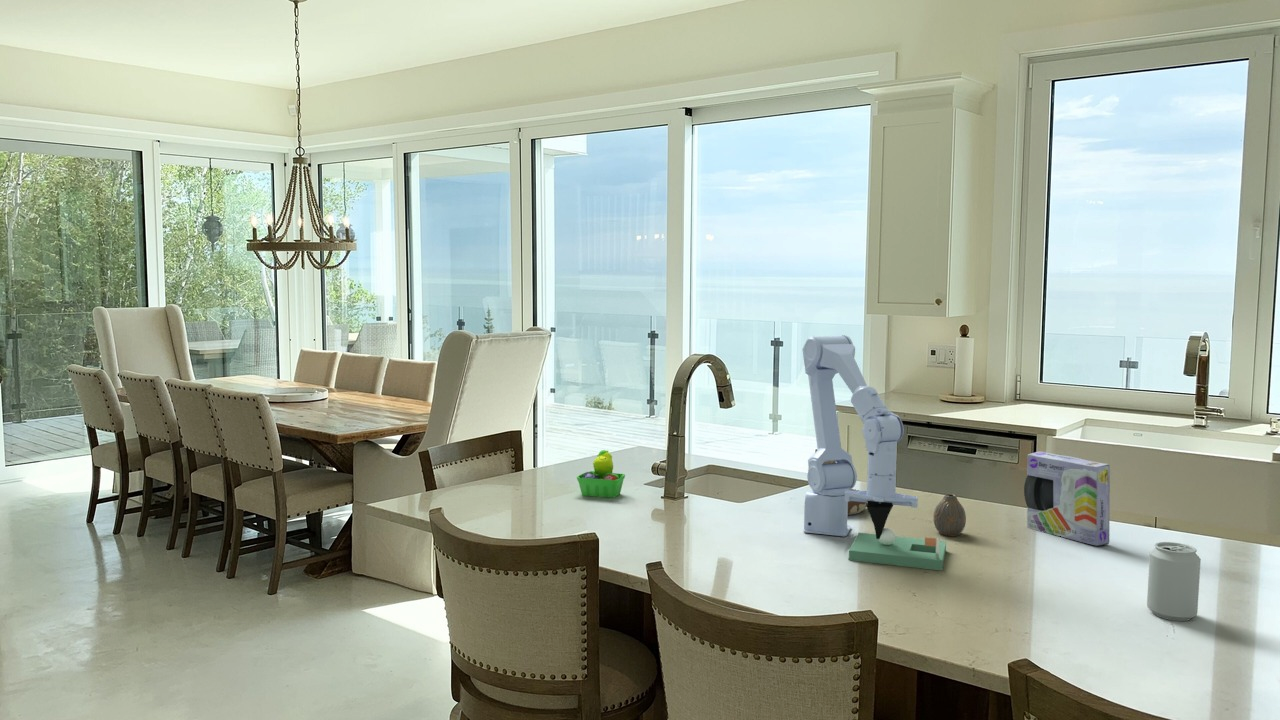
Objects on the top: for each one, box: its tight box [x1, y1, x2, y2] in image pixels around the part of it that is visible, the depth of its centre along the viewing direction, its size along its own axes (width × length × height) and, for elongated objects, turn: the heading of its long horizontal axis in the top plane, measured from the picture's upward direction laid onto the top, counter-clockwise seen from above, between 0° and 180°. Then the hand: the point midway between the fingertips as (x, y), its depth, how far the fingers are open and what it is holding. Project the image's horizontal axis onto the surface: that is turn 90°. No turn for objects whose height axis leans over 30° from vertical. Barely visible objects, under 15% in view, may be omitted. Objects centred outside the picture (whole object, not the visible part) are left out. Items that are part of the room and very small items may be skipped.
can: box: [1146, 541, 1202, 622], centre depth 158 cm, size 8×8×12 cm
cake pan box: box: [1023, 451, 1111, 547], centre depth 205 cm, size 19×5×18 cm, turn 27°
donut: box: [848, 488, 868, 516], centre depth 228 cm, size 14×14×5 cm
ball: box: [878, 527, 896, 545], centre depth 191 cm, size 4×4×4 cm
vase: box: [932, 493, 967, 537], centre depth 207 cm, size 7×7×9 cm
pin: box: [924, 536, 941, 559], centre depth 183 cm, size 3×1×6 cm, turn 69°
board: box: [848, 532, 947, 571], centre depth 191 cm, size 18×14×2 cm
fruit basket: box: [576, 449, 626, 499], centre depth 243 cm, size 11×9×11 cm
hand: (879, 537), depth 192 cm, fingers closed, pressing on ball
